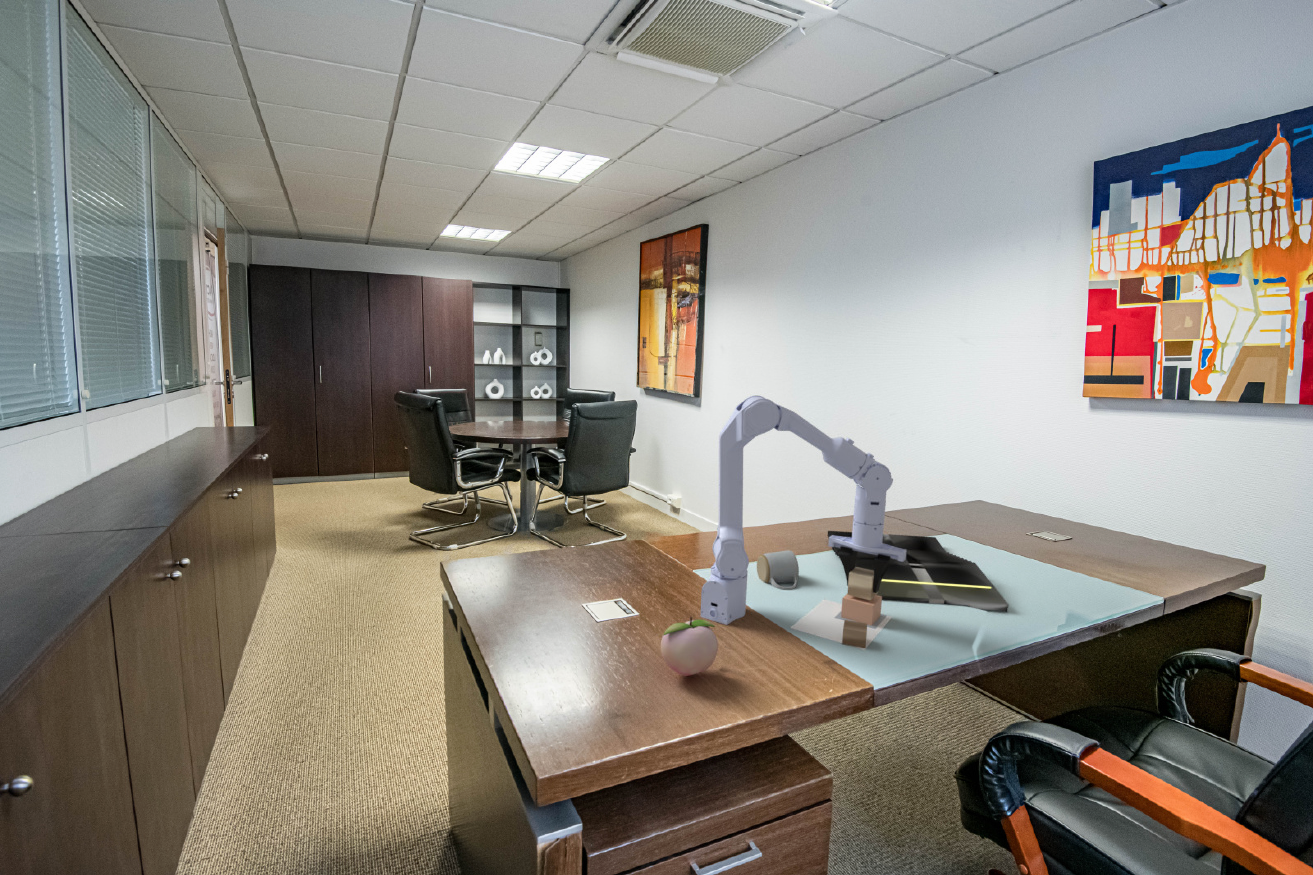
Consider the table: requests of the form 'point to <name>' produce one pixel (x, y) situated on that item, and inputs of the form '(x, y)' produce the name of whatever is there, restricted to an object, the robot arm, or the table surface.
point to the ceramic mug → (778, 568)
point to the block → (854, 634)
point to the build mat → (834, 623)
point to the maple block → (861, 583)
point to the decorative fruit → (689, 646)
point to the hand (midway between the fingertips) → (863, 588)
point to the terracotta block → (861, 609)
